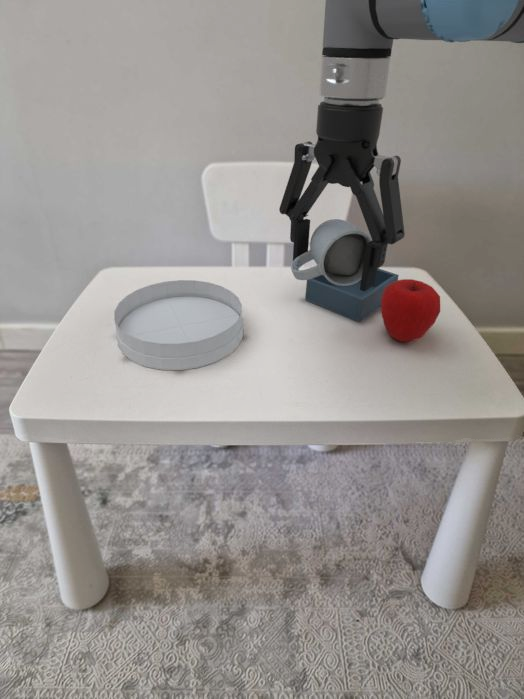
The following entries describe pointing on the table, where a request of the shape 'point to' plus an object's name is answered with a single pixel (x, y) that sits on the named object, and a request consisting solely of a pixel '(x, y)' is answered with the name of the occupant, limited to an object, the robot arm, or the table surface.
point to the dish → (179, 324)
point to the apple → (409, 309)
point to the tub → (349, 295)
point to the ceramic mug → (334, 253)
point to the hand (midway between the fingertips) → (331, 275)
